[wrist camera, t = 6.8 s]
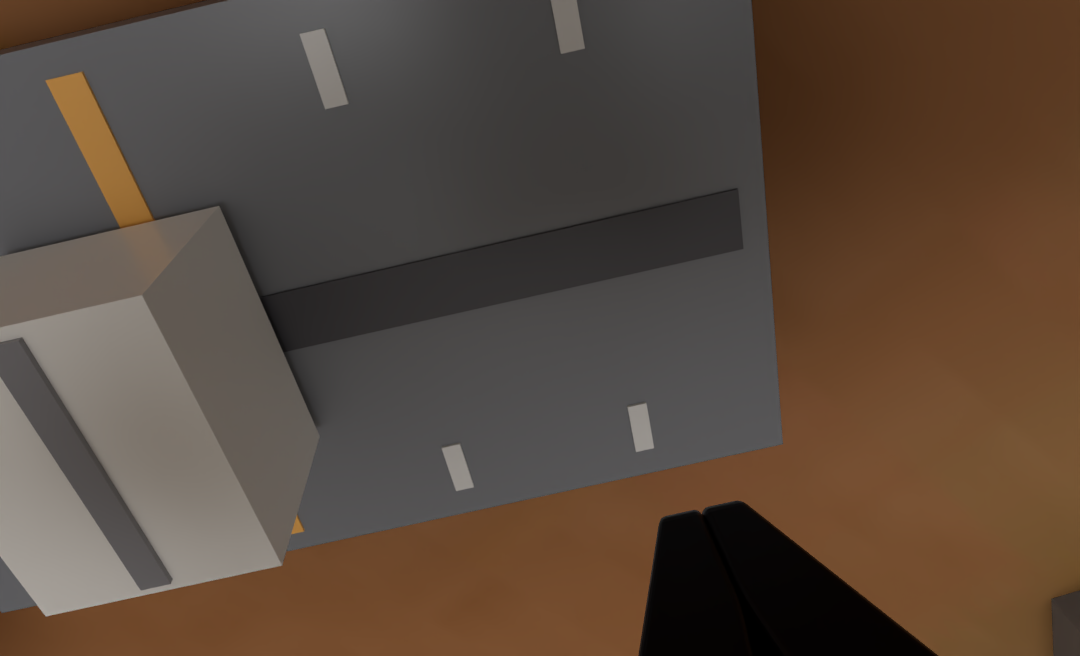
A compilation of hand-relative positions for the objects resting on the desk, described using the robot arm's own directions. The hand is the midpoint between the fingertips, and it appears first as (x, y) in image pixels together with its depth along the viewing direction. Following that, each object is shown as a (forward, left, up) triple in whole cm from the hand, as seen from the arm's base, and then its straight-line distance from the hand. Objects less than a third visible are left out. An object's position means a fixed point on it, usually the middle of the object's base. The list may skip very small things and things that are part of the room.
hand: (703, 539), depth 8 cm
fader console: (+6, 0, -11) cm, 12 cm away
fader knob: (+8, 0, -7) cm, 11 cm away
